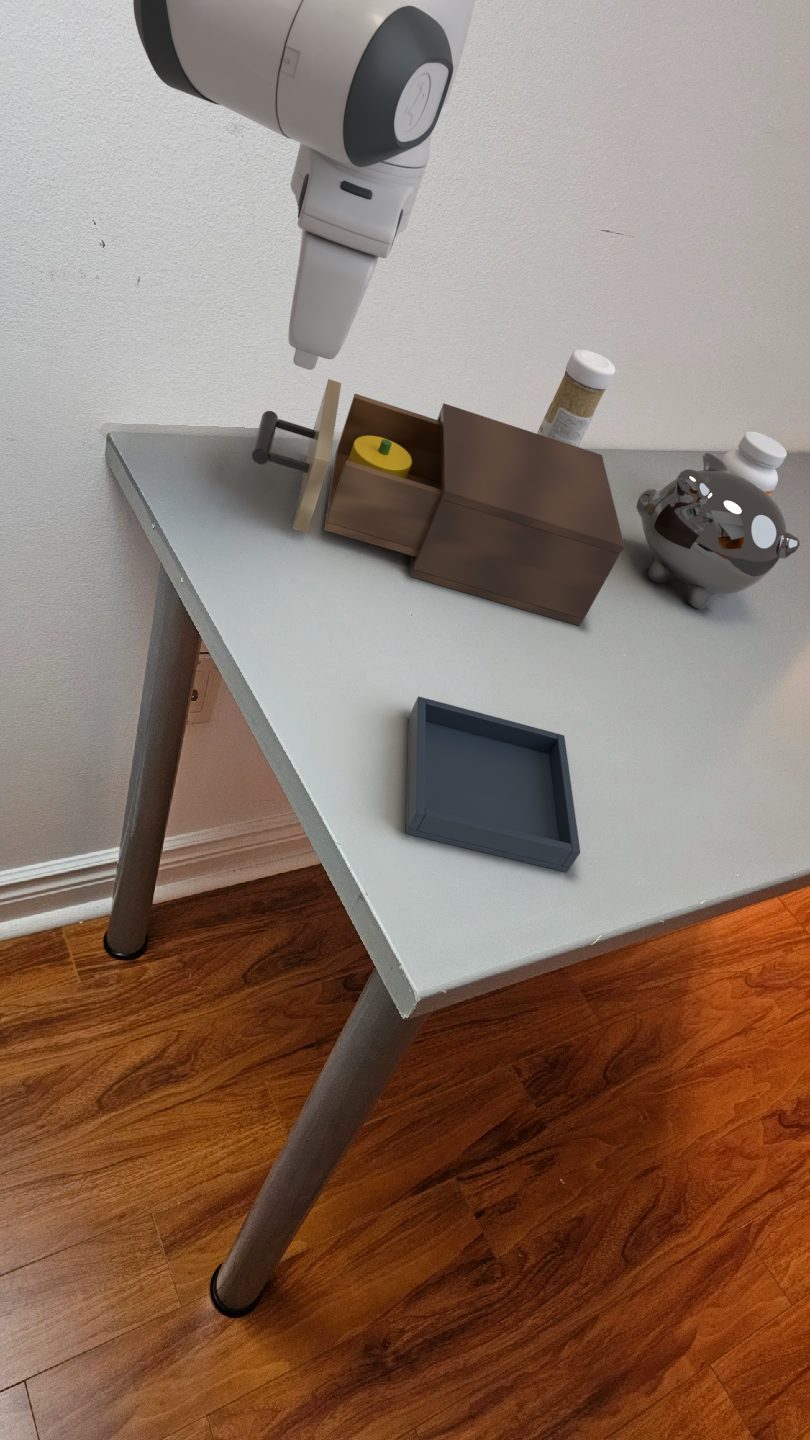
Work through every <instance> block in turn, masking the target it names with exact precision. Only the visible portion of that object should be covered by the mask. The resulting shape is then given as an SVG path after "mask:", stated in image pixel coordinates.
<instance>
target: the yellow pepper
mask: <svg viewBox="0 0 810 1440" xmlns="http://www.w3.org/2000/svg"><path fill="white" fill-rule="evenodd" d="M348 461H350V462H353V463H357V464H360V465H363V466H366V467H369V468H373V469H376V470H379V471H382V472H386V473H389V474H392V475H395V476H399V477H402V478H405V479H406V478H407V475H408V473H409V470H410V467H411V465H412V459H411V456H410V455H409V453H408V452H407V451H406V450H405V449H404V448H402V447H401V446H400V445H398V444H396V443H394V442H392V441H390V440H388V439H385V438H381V437H377V436H362V437H359V438H357V439H356V440H355V441H354V444H353V447H352V450H351V453H350V456H349V459H348Z"/></svg>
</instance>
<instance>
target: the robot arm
mask: <svg viewBox="0 0 810 1440" xmlns="http://www.w3.org/2000/svg"><path fill="white" fill-rule="evenodd" d="M132 2H133V3H132V4H133V5H132V6H133V15H134V16H133V17H134V21H135V25H136V29H137V33H138V36H139V39H140V42H141V44H142V47H143V49H144V52H145V54H146V56H147V59H148V61H149V63H150V64H151V67H152V69H153V71H154V72H155V74H156V76H157V77H158V78H159V79H160V80H161V81H162V82H163V84H165V85H166V86H168V87H170V88H172V89H175V90H177V91H180V92H183V93H185V94H188V95H190V96H192V97H195V98H198V99H200V100H203V101H206V102H209V103H211V104H214V105H220V106H222V107H224V108H226V109H228V110H230V111H232V112H234V113H236V114H238V115H240V116H242V117H244V118H246V119H248V120H251V121H252V122H254V123H256V124H258V125H260V126H262V127H263V128H266V129H269V130H271V131H273V132H274V133H277V134H278V135H280V136H282V137H284V138H286V139H290V140H294V141H295V142H297V143H299V148H298V151H297V156H296V161H295V163H294V168H293V172H292V176H291V181H290V189H291V191H292V193H293V195H294V196H295V202H296V205H297V218H298V220H297V227H298V228H299V229H301V241H300V250H299V257H298V263H297V264H298V265H297V269H296V276H295V283H294V290H293V296H292V301H291V302H292V303H291V308H290V315H289V323H288V333H287V339H288V344H289V346H291V347H292V348H294V349H295V351H294V354H293V358H292V359H293V364H294V365H295V366H297V367H299V368H302V369H306V370H309V371H311V370H313V369H315V368H316V366H317V364H318V363H317V362H318V360H319V358H323V359H327V360H334V359H335V358H336V357H337V355H338V354H339V353H340V351H341V349H342V347H343V345H344V343H345V341H346V339H347V337H348V335H349V333H350V330H351V328H352V326H353V323H354V320H355V318H356V317H357V313H358V311H359V309H360V307H361V305H362V302H363V299H364V297H365V295H366V293H367V290H368V287H369V285H370V282H371V280H372V277H373V275H374V273H375V270H376V267H377V265H378V261H379V258H381V259H387V258H388V257H389V256H390V252H391V251H392V248H393V245H394V242H395V239H396V238H398V236H399V235H400V233H402V232H404V231H405V230H407V226H408V223H409V221H410V218H411V215H412V212H413V208H414V205H415V202H416V199H417V196H418V193H419V189H420V187H421V184H422V181H423V177H424V174H425V172H426V169H427V165H428V163H429V158H430V152H431V137H432V134H433V133H432V132H433V131H434V129H435V128H436V126H437V123H438V121H439V118H440V115H441V112H442V109H443V107H444V106H445V105H446V103H447V101H448V99H449V98H450V95H451V92H452V90H453V87H454V83H455V80H456V76H457V74H458V69H459V67H460V64H461V60H462V55H463V53H464V48H465V45H466V42H467V37H468V34H469V28H470V26H471V25H470V24H471V20H472V15H473V12H474V7H475V2H476V0H133V1H132Z"/></svg>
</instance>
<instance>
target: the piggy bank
mask: <svg viewBox="0 0 810 1440" xmlns="http://www.w3.org/2000/svg"><path fill="white" fill-rule="evenodd" d="M702 463H703V469H697V470H696V469H692V468H687V469H684V470H682V471H680V473H679V474H678V476H676V477H675V478H672V479H671V480H670V481H668V482H666V483H665V484H664V485H662V486H661V487H659V488H647V489H645V490H644V491H643V492H642V493H641V495H640V496H639V497H638V500H637V502H636V505H635V507H636V511H637V513H638V514H639V517H640V521H641V526H642V532H643V535H644V538H645V541H646V544H647V546H648V548H649V550H650V552H651V553H652V555H653V557H654V560H653V562H652V564H651V565H650V567H649V568H648V572H647V574H648V577H649V578H650V579H651V580H652V581H653V582H655V583H664V582H666V581H667V580H669V579H670V578H673V577H675V578H677V579H678V580H680V581H681V582H683V584H686V585H687V586H688V592H687V601H688V603H689V605H690V606H691V607H693V608H695V609H697V610H698V609H699V610H701V609H704V608H705V607H707V605H708V604H709V602H711V599H712V598H713V597H715V596H730V595H735V594H738V593H741V592H743V591H745V590H747V589H749V588H751V587H753V586H754V585H756V584H757V583H759V582H760V581H761V580H762V579H764V578H765V577H766V576H767V575H768V574H769V573H770V572H771V571H772V569H773V568H774V567H775V566H776V565H777V564H778V561H779V560H785V559H787V558H789V557H790V556H791V555H792V554H795V553H796V552H797V550H798V549H799V548H800V544H801V542H800V540H799V538H798V537H797V536H794V535H793V534H792V533H790V532H787V525H786V520H785V517H784V514H783V513H782V510H781V509H780V507H779V506H778V504H777V503H776V501H774V499H773V498H772V497H771V495H770V496H769V495H768V494H767V493H766V492H764V491H763V490H762V489H761V488H759V487H758V486H756V485H755V484H753V483H752V482H750V481H748V480H746V479H744V478H742V477H740V476H738V475H735V474H732V473H729V472H728V469H727V467H726V465H725V464H724V463H723V461H721V458H719V457H718V456H716V455H714V454H713V453H710V452H704V453H703V454H702Z"/></svg>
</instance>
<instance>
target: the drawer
mask: <svg viewBox="0 0 810 1440" xmlns="http://www.w3.org/2000/svg"><path fill="white" fill-rule="evenodd" d="M341 388H342V382H339V381H336V380H333V379H330V378H328V379H327V381H326V386H325V388H324V392H323V396H322V398H321V402H320V406H319V409H318V412H317V416H316V419H315V421H314V426H313V428H309V427H305V426H302V425H299V424H297V423H294V422H290V421H286V420H284V419H281V418H279V416H278V415H277V414H276V412H274V411H272V410H266V411H264V413H262V415H261V418H260V422H259V426H258V429H257V433H256V437H255V441H254V445H253V449H252V452H251V459H252V460H253V462H254V463H256V464H257V465H265V464H267V463H268V462H269V463H273V464H275V465H279V466H283V467H286V468H289V469H292V470H295V471H299V472H302V473H303V474H302V479H301V483H300V488H299V489H300V490H299V495H298V500H297V506H296V510H295V517H294V522H293V527H292V529H293V530H296V531H299V532H303V533H305V534H307V533H308V532H309V528H310V525H311V522H312V519H313V516H314V513H315V509H316V507H317V503H318V501H319V496H320V493H321V490H322V487H323V484H324V481H325V478H326V475H327V471H328V468H329V465H330V461H331V454H332V448H333V442H334V434H335V429H336V428H335V427H336V421H337V414H338V409H339V408H338V407H339V401H340V394H341ZM277 429H280V430H283V431H286V432H288V433H289V432H290V433H293V434H296V435H299V436H302V437H305V438H309V443H308V446H307V451H306V456H305V461H302V460H299V459H295V458H292V457H289V456H285V455H283V454H280V453H279V454H278V453H276V452H272V447H273V443H274V439H275V434H276V430H277ZM362 436H377V437H381V438H385V439H388V440H390V441H392V442H394V443H396V444H398V445H400V446H401V447H402V448H404V449H405V450H406V451H407V452H408V453H409V455H410V456H411V459H412V465H411V467H410V470H409V473H408V475H407V478H406V479H405V478H402V477H399V476H395V475H392V474H389V473H386V472H382V471H379V470H376V469H373V468H369V467H366V466H363V465H360V464H357V463H353V462H350V461H348V459H349V456H350V453H351V450H352V447H353V444H354V441H355V440H356V439H357V438H359V437H362ZM333 459H334V461H333V467H332V473H331V480H330V486H329V494H328V501H327V508H326V514H325V520H324V521H325V522H324V531H326V532H329V533H333V534H337V535H340V536H343V537H347V538H351V539H354V540H357V541H360V542H364V543H368V544H370V545H374V546H378V547H381V548H385V549H388V550H391V551H394V552H398V553H402V554H405V555H407V556H410V557H411V556H415V557H416V556H417V553H418V551H419V548H420V546H421V543H422V541H423V539H424V536H425V534H426V531H427V529H428V526H429V524H430V521H431V519H432V516H433V514H434V511H435V509H436V506H437V504H438V501H439V499H440V496H441V495H442V490H441V421H439V420H437V418H432V417H429V416H426V415H423V414H420V413H417V412H415V411H411V410H408V409H404V408H401V407H398V406H395V405H392V404H388V403H386V402H383V401H380V400H376V399H374V398H371V397H367V396H364V395H361V394H358V393H354V394H353V396H352V400H351V403H350V406H349V409H348V413H347V415H346V419H345V422H344V425H343V428H342V432H341V434H340V437H339V440H338V444H337V448H336V451H335V453H334V458H333Z"/></svg>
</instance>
